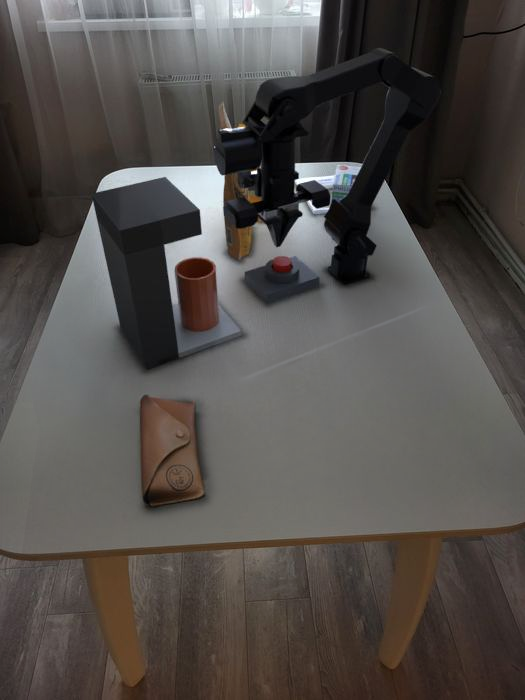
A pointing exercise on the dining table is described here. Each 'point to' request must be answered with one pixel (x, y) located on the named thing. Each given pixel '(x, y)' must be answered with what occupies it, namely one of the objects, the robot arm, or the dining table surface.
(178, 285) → the tumbler
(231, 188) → the pancake mix bag
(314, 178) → the photo frame
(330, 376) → the dining table surface
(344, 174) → the light bulb box
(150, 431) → the sunglasses case
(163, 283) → the coffee maker
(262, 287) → the pad
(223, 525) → the dining table surface
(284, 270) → the button
